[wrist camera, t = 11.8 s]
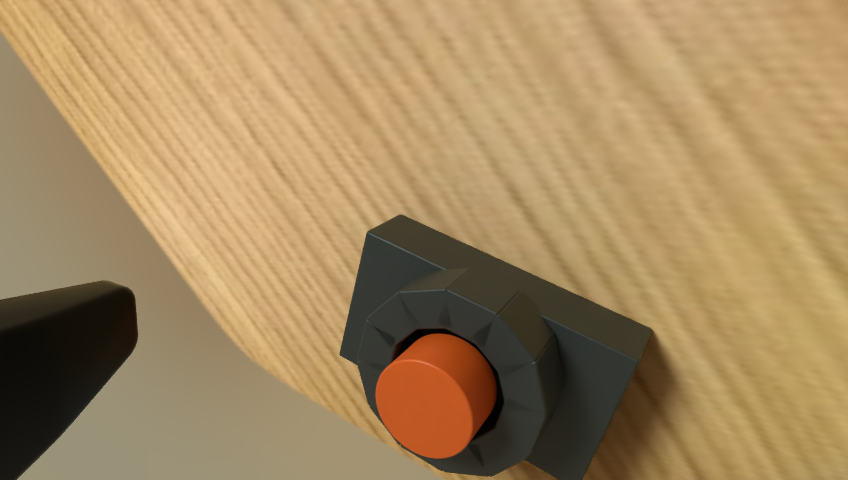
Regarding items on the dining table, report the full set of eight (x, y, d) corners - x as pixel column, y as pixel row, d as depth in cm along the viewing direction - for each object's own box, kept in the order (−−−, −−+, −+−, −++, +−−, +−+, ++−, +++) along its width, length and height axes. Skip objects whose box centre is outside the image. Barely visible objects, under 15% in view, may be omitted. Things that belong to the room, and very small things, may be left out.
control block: (659, 316, 19) (633, 380, 16) (590, 459, 21) (555, 541, 18) (403, 201, 22) (336, 234, 19) (369, 339, 24) (304, 390, 21)
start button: (511, 363, 18) (486, 394, 16) (480, 443, 19) (455, 479, 17) (418, 315, 19) (387, 340, 17) (395, 394, 20) (365, 424, 18)
